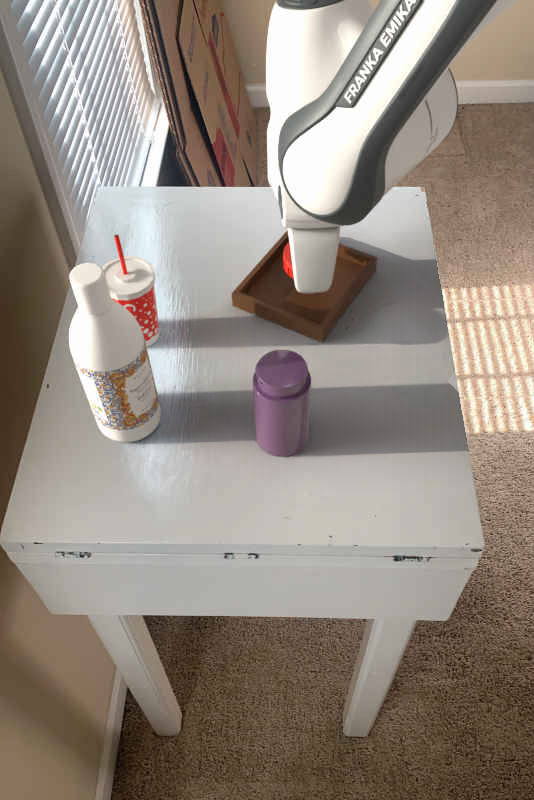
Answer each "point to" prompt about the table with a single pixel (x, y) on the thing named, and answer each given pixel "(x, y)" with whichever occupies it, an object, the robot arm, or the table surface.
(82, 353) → the bath foam
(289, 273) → the lid
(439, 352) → the table surface
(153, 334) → the beverage cup
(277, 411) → the jar
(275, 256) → the tray
